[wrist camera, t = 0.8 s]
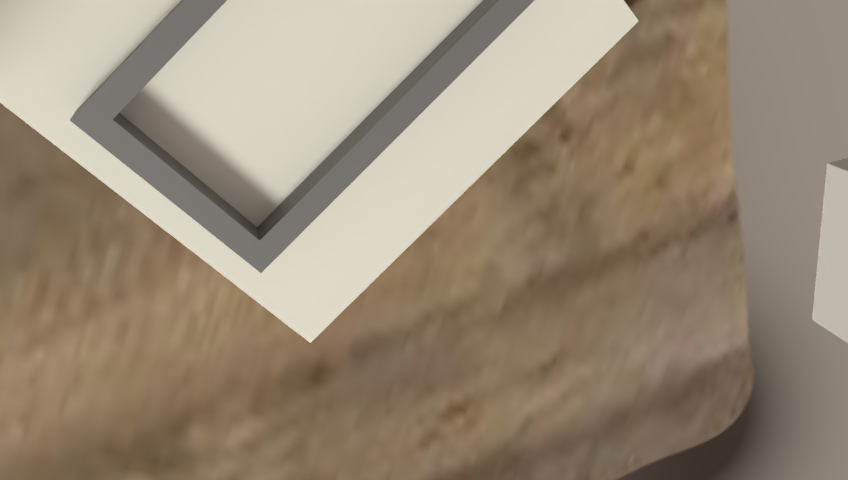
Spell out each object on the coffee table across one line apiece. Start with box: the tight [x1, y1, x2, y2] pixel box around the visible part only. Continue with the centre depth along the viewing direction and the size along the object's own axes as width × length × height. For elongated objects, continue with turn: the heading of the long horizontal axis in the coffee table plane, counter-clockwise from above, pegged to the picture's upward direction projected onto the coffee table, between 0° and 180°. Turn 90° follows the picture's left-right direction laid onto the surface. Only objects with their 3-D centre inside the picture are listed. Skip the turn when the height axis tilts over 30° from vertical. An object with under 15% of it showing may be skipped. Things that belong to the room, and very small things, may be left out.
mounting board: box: [0, 0, 638, 343], centre depth 30 cm, size 18×20×3 cm
